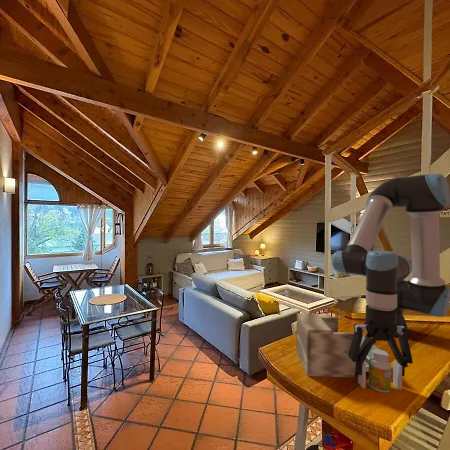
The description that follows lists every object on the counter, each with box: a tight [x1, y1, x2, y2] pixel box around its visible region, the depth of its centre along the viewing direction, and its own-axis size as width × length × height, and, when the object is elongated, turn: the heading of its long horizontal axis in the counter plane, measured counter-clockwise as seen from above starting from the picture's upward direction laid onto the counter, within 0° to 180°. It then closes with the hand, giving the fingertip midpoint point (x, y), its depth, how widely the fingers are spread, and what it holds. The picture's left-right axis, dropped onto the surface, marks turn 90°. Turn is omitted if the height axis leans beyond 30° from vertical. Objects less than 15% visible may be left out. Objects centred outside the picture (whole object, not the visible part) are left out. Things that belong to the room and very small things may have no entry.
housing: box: [296, 312, 356, 379], centre depth 85 cm, size 14×14×14 cm
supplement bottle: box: [368, 348, 392, 393], centre depth 73 cm, size 5×5×10 cm
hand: (379, 386), depth 73 cm, fingers open, 9 cm apart
